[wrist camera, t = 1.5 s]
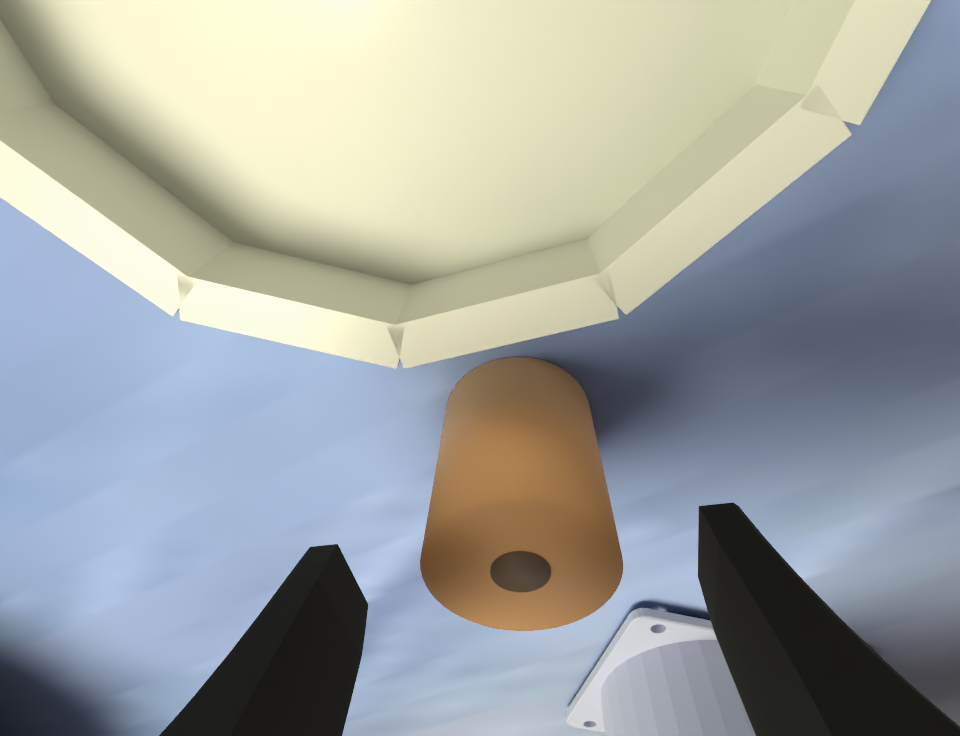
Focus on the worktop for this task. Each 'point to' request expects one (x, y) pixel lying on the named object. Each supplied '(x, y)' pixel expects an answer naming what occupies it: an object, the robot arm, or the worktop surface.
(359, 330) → the tray
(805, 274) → the worktop surface
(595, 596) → the bead
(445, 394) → the worktop surface
